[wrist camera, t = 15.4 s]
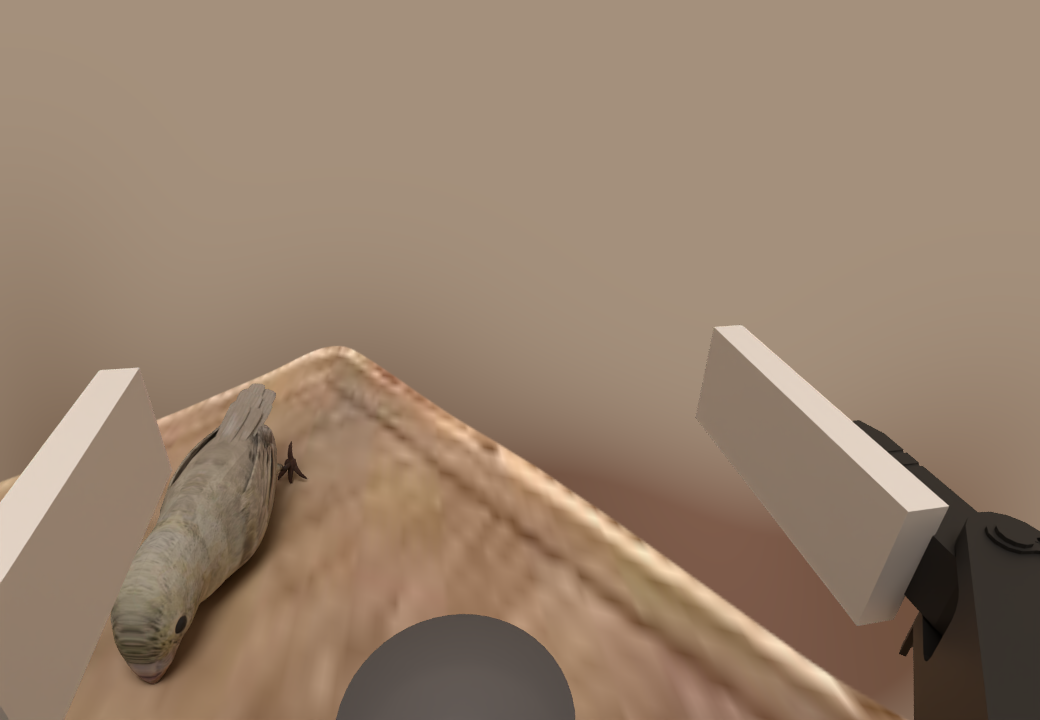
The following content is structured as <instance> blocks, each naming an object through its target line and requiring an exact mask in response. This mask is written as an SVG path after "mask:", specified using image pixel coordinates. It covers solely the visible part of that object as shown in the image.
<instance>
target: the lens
mask: <svg viewBox="0 0 1040 720" xmlns="http://www.w3.org/2000/svg"><path fill="white" fill-rule="evenodd" d="M336 720H575V709H574V704H573V699H572V695H571V692H570V689H569V686H568V683H567V680H566V678H565V676H564V674H563V672H562V670H561V668H560V667H559V665H558V664H557V662H556V661H555V659H554V658H553V657H552V655H551V654H550V653H549V652H548V651H547V650H546V648H545V647H544V646H543V645H541V644H540V643H539V642H538V641H537V640H536V639H535V638H533V637H532V636H531V635H529V634H528V633H526V632H525V631H523V630H522V629H520V628H518V627H516V626H514V625H512V624H510V623H507V622H504V621H502V620H499V619H495V618H491V617H487V616H480V615H469V614H458V615H447V616H442V617H437V618H432V619H429V620H426V621H423V622H420V623H418V624H415V625H413V626H411V627H408V628H406V629H405V630H403V631H401V632H399V633H398V634H396V635H394V636H393V637H392V638H390V639H389V640H387V641H386V642H385V643H383V644H382V645H381V646H380V647H379V648H378V649H377V650H375V651H374V652H373V653H372V654H371V655H370V656H369V658H368V659H367V660H366V661H365V662H364V663H363V664H362V666H361V667H360V668H359V670H358V671H357V673H356V674H355V675H354V677H353V679H352V680H351V682H350V684H349V686H348V688H347V689H346V692H345V694H344V697H343V699H342V701H341V704H340V707H339V711H338V714H337V718H336Z"/></svg>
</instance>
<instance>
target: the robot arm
mask: <svg viewBox="0 0 1040 720" xmlns="http://www.w3.org/2000/svg"><path fill="white" fill-rule="evenodd" d="M696 419H697V420H698V422H699V423H700V424H701V426H702V427H703V428H704V429H705V431H706V432H707V433H708V435H709V436H710V437H711V438H712V440H713V441H714V442H715V443H716V445H717V446H718V447H719V449H720V450H721V451H722V453H723V454H724V455H725V456H726V458H727V459H728V460H729V462H730V463H731V464H732V465H733V467H734V468H735V469H736V471H737V472H738V473H739V474H740V476H741V477H742V478H743V480H744V481H745V482H746V483H747V485H748V486H749V487H750V489H751V490H752V491H753V492H754V494H755V495H756V496H757V498H758V499H759V500H760V501H761V503H762V504H763V505H764V507H765V508H766V509H767V511H768V512H769V513H770V514H771V516H772V517H773V518H774V520H775V521H776V522H777V523H778V525H779V526H780V527H781V528H782V529H783V531H784V532H785V534H786V535H787V536H788V538H789V539H790V540H791V541H792V543H793V544H794V545H795V547H796V548H797V549H798V550H799V552H800V553H801V554H802V556H803V557H804V558H805V559H806V561H807V562H808V563H809V565H810V566H811V567H812V569H813V570H814V571H815V572H816V574H817V575H818V576H819V578H820V579H821V580H822V581H823V583H824V584H825V585H826V587H827V588H828V589H829V590H830V592H831V593H832V594H833V596H834V597H835V598H836V599H837V601H838V602H839V603H840V605H841V606H842V607H843V608H844V610H845V611H846V612H847V614H848V615H849V616H850V617H851V619H852V620H853V621H854V623H855V624H856V625H857V626H859V625H865V624H871V623H876V622H882V621H887V620H893V619H894V618H895V616H896V614H897V612H898V610H899V608H900V606H901V603H902V601H903V599H904V597H905V596H906V597H907V598H908V599H909V600H910V601H911V602H912V604H913V605H914V606H915V607H916V608H917V609H918V610H919V613H918V615H917V617H916V619H915V621H914V623H913V625H912V627H911V629H910V630H909V632H908V634H907V636H906V639H905V640H904V642H903V644H902V647H901V650H900V652H899V654H901V655H903V656H906V655H907V653H908V652H909V650H910V648H911V647H913V660H914V720H1040V531H1038V530H1037V529H1035V528H1033V527H1032V526H1030V525H1028V524H1027V523H1025V522H1023V521H1020V520H1018V519H1015V518H1012V517H1010V516H1007V515H1003V514H998V513H993V512H977V511H975V510H974V509H973V508H972V507H971V506H970V505H968V504H967V503H966V502H965V501H964V500H962V499H961V498H960V497H959V496H957V495H956V494H955V493H954V492H953V491H952V490H951V489H949V488H948V487H947V486H946V485H945V484H943V483H942V482H941V481H940V480H939V479H938V478H936V477H935V476H934V475H933V474H932V473H930V472H929V471H928V470H927V469H926V468H924V467H923V466H919V463H918V462H917V461H916V460H915V459H914V458H913V457H911V456H910V455H909V454H908V453H903V449H902V448H901V447H900V446H898V445H897V444H896V443H895V442H894V441H892V440H891V439H890V438H889V437H888V436H886V435H885V434H884V433H882V432H880V431H878V430H876V429H874V428H873V427H871V426H869V425H867V424H865V423H863V422H861V421H859V420H857V421H851V420H850V419H849V418H848V417H847V416H845V415H844V414H843V413H842V412H841V411H840V410H839V409H837V408H836V407H835V406H834V405H833V404H832V403H831V402H829V401H828V400H827V399H826V398H825V397H824V396H823V395H821V394H820V393H819V392H818V391H817V390H816V389H814V388H813V387H812V386H811V385H810V384H809V383H808V382H807V381H805V380H804V379H803V378H802V377H800V375H798V374H797V373H796V372H795V371H794V370H793V369H791V367H789V366H788V365H787V364H786V363H785V362H784V361H783V360H781V359H780V358H779V357H778V356H777V355H776V354H774V353H773V352H772V351H771V350H770V349H769V348H768V347H766V346H765V345H764V344H763V343H762V342H761V341H759V340H758V339H757V338H756V337H755V336H754V335H753V334H752V333H750V332H749V331H748V330H747V329H746V328H744V327H743V326H742V325H735V326H721V327H714V329H713V334H712V339H711V344H710V349H709V354H708V359H707V364H706V369H705V374H704V378H703V383H702V389H701V393H700V398H699V403H698V408H697V413H696ZM171 472H172V468H171V465H170V462H169V459H168V456H167V452H166V449H165V446H164V443H163V440H162V437H161V434H160V430H159V427H158V424H157V421H156V418H155V415H154V412H153V408H152V405H151V402H150V399H149V396H148V393H147V390H146V387H145V383H144V381H143V377H142V374H141V371H140V368H128V369H112V370H100V371H99V372H98V373H97V374H96V375H95V377H94V378H93V379H92V381H91V382H90V383H89V385H88V386H87V388H86V389H85V390H84V391H83V393H82V394H81V396H80V397H79V398H78V399H77V401H76V402H75V403H74V405H73V406H72V407H71V409H70V410H69V411H68V413H67V414H66V415H65V417H64V418H63V419H62V421H61V422H60V424H59V425H58V426H57V428H56V429H55V430H54V432H53V433H52V434H51V435H50V437H49V438H48V439H47V441H46V442H45V444H44V445H43V446H42V447H41V449H40V450H39V451H38V453H37V454H36V455H35V457H34V458H33V460H32V461H31V462H30V463H29V465H28V466H27V467H26V469H25V470H24V471H23V473H22V474H21V475H20V477H19V478H18V479H17V481H16V482H15V483H14V485H13V486H12V487H11V489H10V490H9V491H8V493H7V494H6V495H5V497H4V498H3V499H2V501H1V502H0V720H64V718H65V716H66V714H67V712H68V709H69V707H70V705H71V702H72V700H73V698H74V695H75V693H76V691H77V688H78V686H79V684H80V682H81V679H82V677H83V675H84V672H85V670H86V668H87V665H88V663H89V661H90V658H91V656H92V654H93V652H94V649H95V647H96V645H97V642H98V640H99V638H100V635H101V633H102V631H103V628H104V626H105V624H106V622H107V619H108V617H109V615H110V612H111V610H112V608H113V605H114V603H115V601H116V598H117V596H118V594H119V592H120V589H121V587H122V585H123V582H124V580H125V578H126V575H127V573H128V571H129V568H130V566H131V564H132V562H133V559H134V557H135V555H136V552H137V550H138V548H139V545H140V543H141V541H142V538H143V536H144V534H145V532H146V529H147V527H148V525H149V522H150V520H151V518H152V515H153V513H154V511H155V508H156V506H157V504H158V502H159V499H160V497H161V495H162V492H163V490H164V488H165V485H166V483H167V481H168V478H169V476H170V474H171Z"/></svg>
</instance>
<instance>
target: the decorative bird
mask: <svg viewBox="0 0 1040 720" xmlns="http://www.w3.org/2000/svg"><path fill="white" fill-rule="evenodd" d="M275 397H276V393H275V392H274V391H271V390H269V389H265V385H263V384H252V385H251V386H250V387H249V389H244V390H242V391H241V392H240V394H239V395H238V397H237V400H236V401H235V402H233V403H232V404H231V405H230V407H229V409H228V411H227V413H226V415H225V417H224V419H223V422H222V424H221V425H220V426H219V427H218V428H217V429H216V430H214V431H213V432H212V433H211V434H209V435H208V436H207V437H206V438H204V439H203V440H202V441H201V442H199V443H198V444H197V445H196V446H195V447H194V448H193V449H192V450H191V451H190V453H189V454H188V455H187V456H186V458H185V459H184V460H183V461H182V463H181V464H180V466H179V467H178V469H177V471H176V472H175V474H174V476H173V478H172V480H171V482H170V483H169V486H168V489H167V492H166V495H165V498H164V501H163V504H162V507H161V510H160V516H159V519H158V522H157V524H156V526H155V528H154V529H153V531H152V532H151V534H150V535H149V536H148V537H147V539H146V540H145V541H144V543H143V544H142V545H141V546H140V548H139V549H138V550H137V552H136V555H135V557H134V559H133V562H132V564H131V566H130V568H129V571H128V573H127V575H126V578H125V580H124V582H123V585H122V587H121V589H120V592H119V594H118V596H117V598H116V601H115V603H114V605H113V608H112V610H111V623H112V629H113V635H114V640H115V643H116V645H117V648H118V650H119V652H120V653H121V655H122V656H123V658H124V659H125V661H126V662H127V664H128V665H129V667H130V668H131V669H132V670H133V671H134V672H135V673H136V674H137V675H138V676H139V677H140V678H141V679H143V680H145V681H146V682H149V683H151V684H155V683H157V682H158V681H159V680H160V679H161V678H162V676H163V675H164V674H165V672H166V671H167V669H168V667H169V666H170V664H171V663H172V661H173V659H174V656H175V653H176V651H177V648H178V646H179V644H180V642H181V639H182V637H183V636H184V634H185V633H186V632H187V630H188V628H189V627H190V625H191V623H192V621H193V618H194V616H195V613H196V611H197V609H198V606H199V604H200V602H202V601H204V600H205V599H207V598H208V597H209V596H210V595H211V594H212V593H213V592H214V591H215V590H216V589H217V588H218V587H220V586H221V585H222V583H223V582H224V581H225V579H227V578H228V577H230V576H231V575H232V574H233V573H234V572H235V571H236V570H238V569H239V568H240V567H241V566H242V565H244V564H245V563H246V562H247V561H248V560H249V559H250V558H251V556H252V555H253V554H254V553H255V551H256V550H257V549H258V547H259V545H260V543H261V541H262V539H263V537H264V534H265V532H266V529H267V526H268V523H269V519H270V516H271V512H272V508H273V504H274V497H275V490H276V475H277V473H278V472H279V471H281V472H280V474H279V476H278V480H279V479H280V478H281V477H282V476H283V475H284V474H285V473H286V471H287V470H288V479H289V482H290V483H292V475H293V470H294V471H295V472H296V473H297V474H298V475H299V476H301V477H302V478H305V479H307V478H306V477H305V476H304V475H303V474H302V473H301V471H300V470H299V469H298V466H297V463H296V459H294V458H293V455H292V442H291V443H290V445H289V448H288V459H286V461H285V466H284V467H283V466H282V465H281V464H277V456H276V455H277V449H276V444H275V439H274V436H273V433H272V431H271V429H270V428H269V427H268V426H267V425H264V422H265V421H266V419H267V417H268V415H269V414H270V412H271V409H272V403H273V401H274V399H275Z"/></svg>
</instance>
